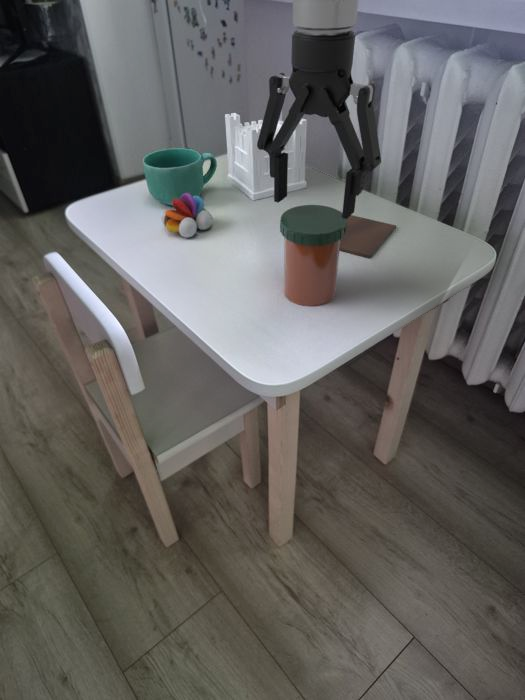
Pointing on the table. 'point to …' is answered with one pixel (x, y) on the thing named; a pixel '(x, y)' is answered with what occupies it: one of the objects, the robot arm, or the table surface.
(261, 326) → the table surface
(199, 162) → the mug
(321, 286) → the jar
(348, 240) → the coaster
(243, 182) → the castle model
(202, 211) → the rainbow fan wheeled toy
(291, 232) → the lid
